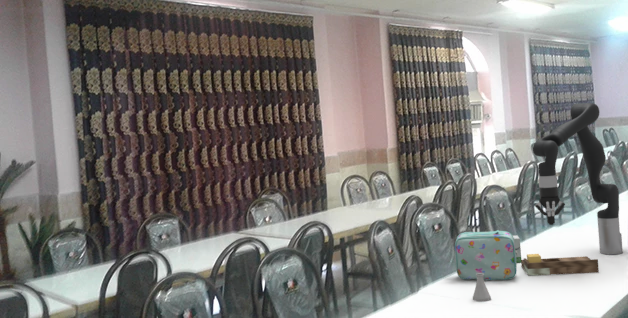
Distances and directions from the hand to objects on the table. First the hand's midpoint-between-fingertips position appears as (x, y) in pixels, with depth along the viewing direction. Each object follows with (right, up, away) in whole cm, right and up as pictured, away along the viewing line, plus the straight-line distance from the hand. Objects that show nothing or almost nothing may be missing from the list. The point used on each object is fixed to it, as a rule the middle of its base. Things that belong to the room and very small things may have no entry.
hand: (551, 224), depth 263 cm
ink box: (-7, -21, +25) cm, 33 cm away
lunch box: (-28, -24, 0) cm, 37 cm away
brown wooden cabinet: (+5, -20, +3) cm, 21 cm away
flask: (-39, -27, -28) cm, 55 cm away
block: (-7, -19, +1) cm, 20 cm away
